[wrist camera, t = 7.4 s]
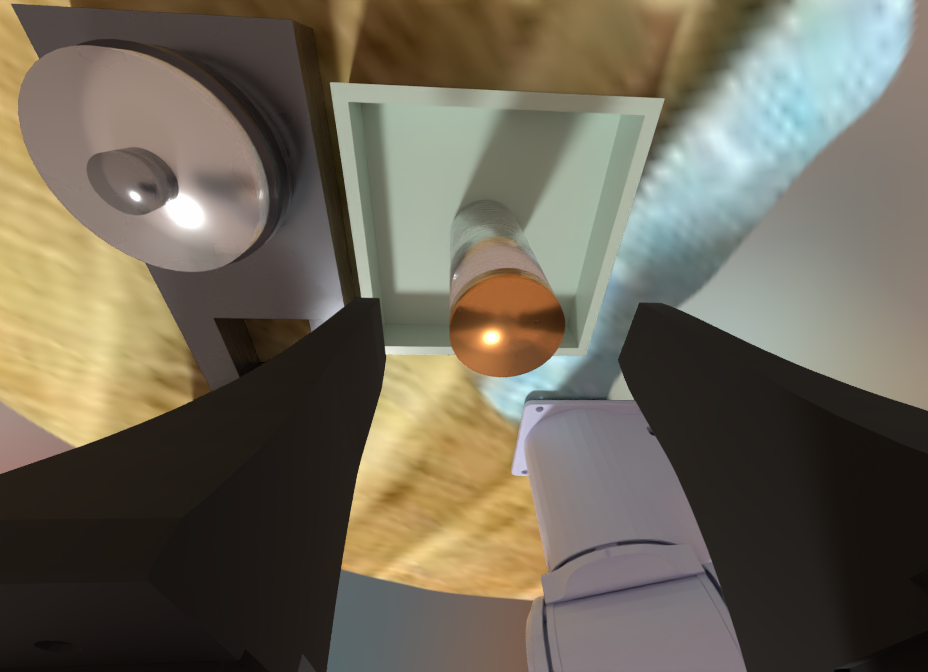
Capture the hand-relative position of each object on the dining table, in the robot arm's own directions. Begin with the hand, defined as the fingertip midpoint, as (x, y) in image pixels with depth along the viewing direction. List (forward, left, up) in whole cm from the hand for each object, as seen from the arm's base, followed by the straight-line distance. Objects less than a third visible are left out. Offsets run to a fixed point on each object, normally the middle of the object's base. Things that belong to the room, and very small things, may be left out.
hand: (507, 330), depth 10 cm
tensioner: (+11, +1, -8) cm, 13 cm away
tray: (0, 0, -8) cm, 8 cm away
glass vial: (0, 0, -8) cm, 8 cm away
